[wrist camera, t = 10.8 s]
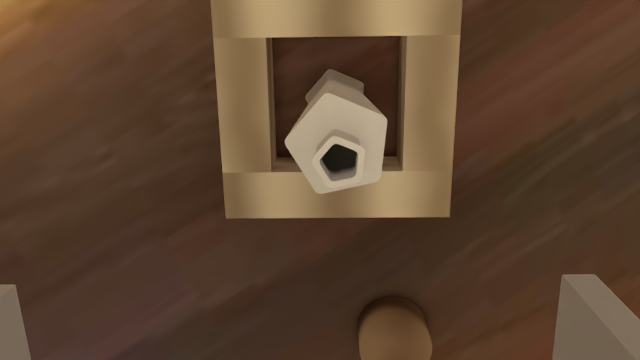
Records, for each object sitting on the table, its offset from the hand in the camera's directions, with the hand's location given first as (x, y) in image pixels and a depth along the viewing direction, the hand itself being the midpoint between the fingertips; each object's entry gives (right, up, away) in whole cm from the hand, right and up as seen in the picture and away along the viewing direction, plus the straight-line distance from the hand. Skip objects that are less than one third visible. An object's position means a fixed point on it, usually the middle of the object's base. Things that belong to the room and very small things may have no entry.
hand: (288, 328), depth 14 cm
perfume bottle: (+2, +9, +23) cm, 25 cm away
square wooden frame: (+2, +9, +23) cm, 25 cm away
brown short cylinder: (+6, -7, +28) cm, 29 cm away
